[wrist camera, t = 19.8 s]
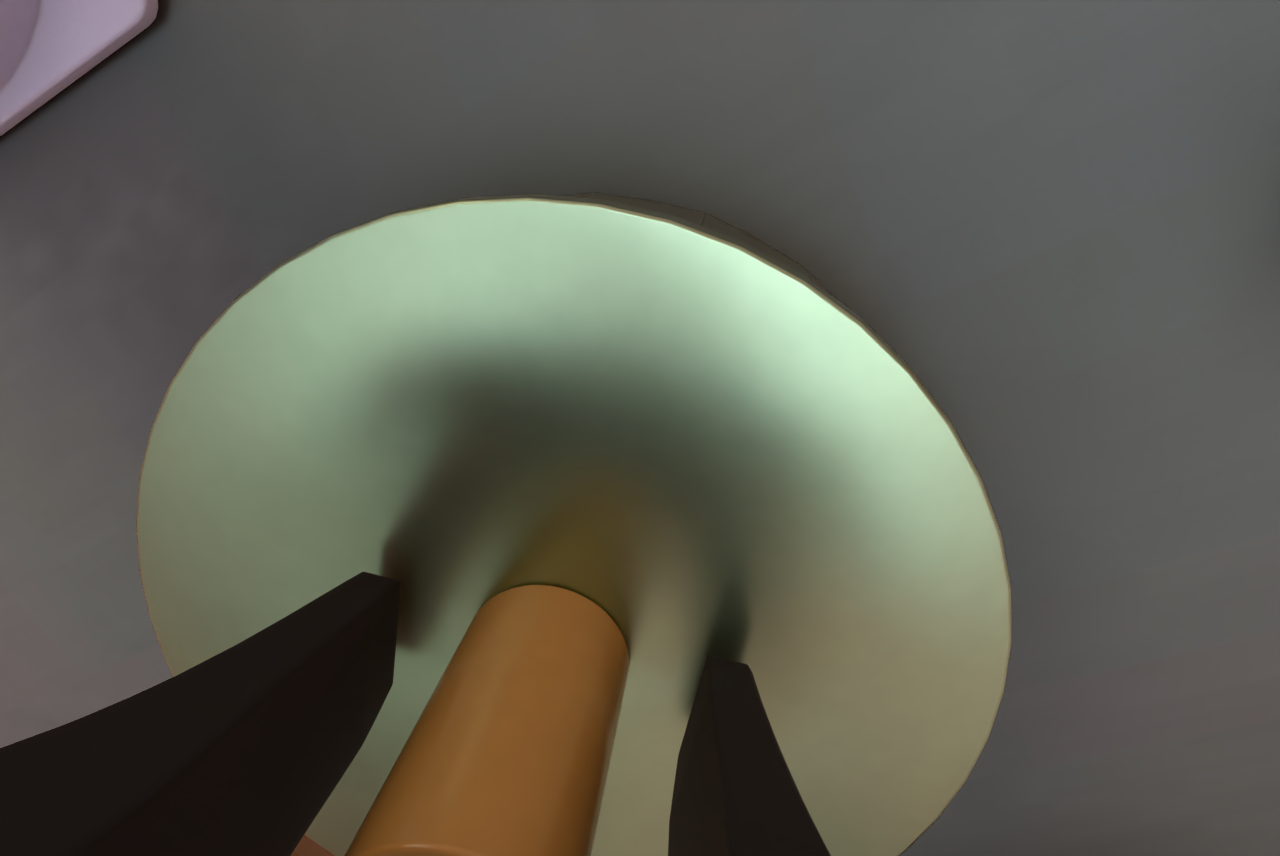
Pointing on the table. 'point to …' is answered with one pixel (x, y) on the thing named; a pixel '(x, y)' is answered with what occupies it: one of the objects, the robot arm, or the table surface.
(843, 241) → the table surface
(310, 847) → the block
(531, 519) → the tin lid
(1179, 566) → the table surface
